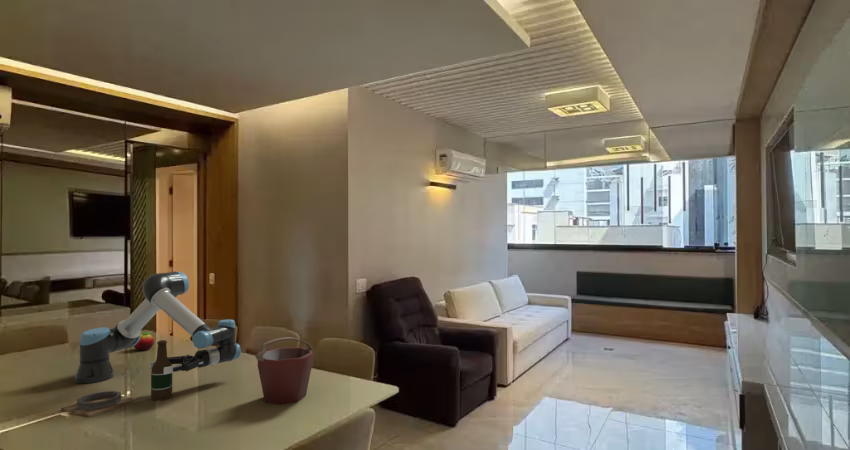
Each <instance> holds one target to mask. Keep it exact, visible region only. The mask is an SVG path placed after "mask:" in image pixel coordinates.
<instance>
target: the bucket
mask: <svg viewBox="0 0 850 450" xmlns="http://www.w3.org/2000/svg"><path fill="white" fill-rule="evenodd" d="M287 340H294V341H298V342H301V343H304V345H305V346H306V347H307V348H305V347H300V346H299V347H277V348H274V349H269V350H268V349H267V347H268V346H270V345H272V344H274V343H277V342H280V341H287ZM312 350H313V346H312V345H311V344H310V343H309V342H308V341H304V340H302V339H300V338H296V337H293V336H286V337H278V338H274V339H271V340H267V341H266V342H263V343H262V345H261V347H260V350H259V351H258V352H257V353H256V354H255V355H254V356H255V359H256V360H257V369H258V376H259V379H260V386H261V390H262V394H263V400H264V403H266V404H271V405H277V406H281V405H282V406H283V405H287V404H294V403H298V402H299V401H301V400H302V399H304V398H305V397H306V396H307V394H308V393H307V392H308V387H309V381H310V379H311V378H310V376H311V371H312V368H313V362H314V351H312Z"/></svg>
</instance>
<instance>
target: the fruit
mask: <svg viewBox="0 0 850 450" xmlns="http://www.w3.org/2000/svg"><path fill="white" fill-rule="evenodd" d="M154 344H155V339H154V337H153V335H151V332H150V331H146V332H142V333H141V336H140V340H139V342H138V343H137V344H136V345H135V346H133V347H134V349H135V350H136V351H138V352H140V351H141V352H143V351H148V350H150V349H152V348H153V346H154Z"/></svg>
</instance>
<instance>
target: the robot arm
mask: <svg viewBox="0 0 850 450" xmlns="http://www.w3.org/2000/svg"><path fill="white" fill-rule="evenodd" d="M189 280H190V279H189V278H188V276H187V275H186V274H185V273H184V272H182V271H169V272H159V273H153V274H151V275H149V276H147V277H146V278H145V280H144V281H143V283H142V286H141V288H142V294H143V296H144V300H143V301H142V302H141V303H140V304H139V305H138V306H137V307H136V308H135V309H134V310H133V312H132V313H131V314H129V316H128V317H127V318H126V319H123V320H120V321H119V322H118V323H117V324H116V325H115V326H114V327H112V328H109V327H106V326H103V327H102V326H101V327H97V328H96V327H95V328H92V329H89V330H88V329H87V330H85V331H84V332H82V333H81V334H80V337H79V366H78V368H77V371H76V373H75V376H74V382H75V383H76V384H91V383H98V382H102V381H107V380H109V379H111V378H113V377H114V369H113V367H112V363H111V361H110V354H112V353H115V352H119V351H122V350H128V349H130V348H132V347H134V346H135V345H136V344H137V343H138V342H139V340H140V336H141V334H142V329H143V328H144V327H145V326H146V325H147V324H148V323H149V322H150V321H151V319H152V318H153V317H154V316H155V315H156V314H158V312H159V311H160V310H161V311H163V312H164V313H165V314H166V315H167V316H168V317H170V318H171V320H172V321H174V322H175V323H176V324H177V325H178V326H179V327H181V328H182V329H183V330H184V331H185V332H186V333H188V335H190V336H191V337H192V339H191V341H192V343H193V346H194V347H195V348H197V349H201V350H197V351H195V354H194V355H190V354H187V355H186V354H185V355H179V356H169V357H168V356H167V358H168V360H169V361H170V362H171V365H172V366H170V367H165V368H164V375H165V374H170V373H172V374H174V373H178V372H181V371H182V372H188V371H191V370H193V369H196V368H205V367H208V366H212V367H213V366H215V365H216V364H220V363H221V364H222V363H227V362H231V361H234V360H237V359H239V358H240V356H241V354H242V349H241V345H240V344H239V343H236V330H237V329H236V322H235V320H234V319H230V318H229V319H222V320H219V321H218V323H217V326H213V327H210V326H209V325H207V324H206V323H205V322H204V321H203V320H202V319H201V318H199V316H197V315H196V314H195V313H194V312H192V311H191V310H190V309H189V308H188V306H186V305H185V304H184V303H183V302H182V301H180V300H179V299H178V298H177V297H178V296H182V295H184V294H186V293H187V292H188V290H189V289H190V284H189V283H190V281H189ZM214 345H217V346H215V347H211V346H214ZM208 347H209V348H208ZM210 347H211V348H210ZM204 348H206V349H204ZM155 362H156V360H155V361H149V368H148V369H149V370H152V367H153V364H154V363H155Z"/></svg>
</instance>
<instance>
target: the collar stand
mask: <svg viewBox="0 0 850 450" xmlns="http://www.w3.org/2000/svg"><path fill="white" fill-rule="evenodd" d="M134 402H135V403H136V402H137V398H134V397H130V396H129V397H128V396H124V395H122V393H121V391H117V390H105V391H97V392H92V393H90V394H86V395H83V396H81V397H79V398H78V399H76V402H75V403H71V404H68V405H65V406H62V407H60V411H61V412H62V411H63V412H67V413H71V414H74V415H79V416H83V417H88V418H92V417H95V416H97V415H100V414H103V413H106V412H109V411H112V410H115V409H118V408H121V407H123V406H126V405H129V404H132V403H134Z"/></svg>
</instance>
